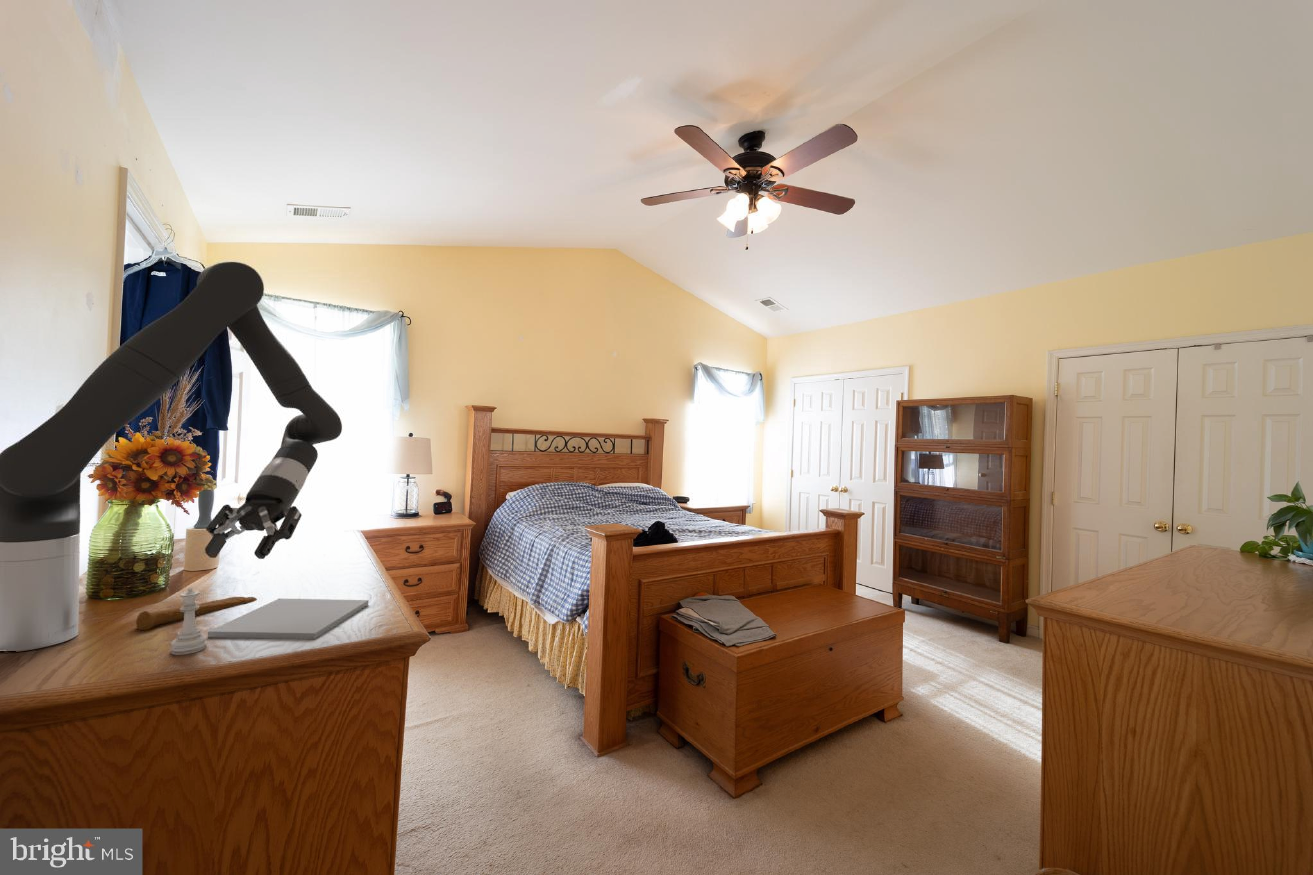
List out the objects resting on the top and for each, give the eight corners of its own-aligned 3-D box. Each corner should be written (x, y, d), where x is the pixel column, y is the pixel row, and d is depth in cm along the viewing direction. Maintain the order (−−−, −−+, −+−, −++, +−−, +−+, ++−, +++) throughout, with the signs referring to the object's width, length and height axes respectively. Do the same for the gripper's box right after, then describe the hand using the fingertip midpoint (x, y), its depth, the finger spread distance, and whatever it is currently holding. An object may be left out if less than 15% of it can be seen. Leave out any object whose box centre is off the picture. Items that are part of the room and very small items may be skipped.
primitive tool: (239, 598, 113) (239, 582, 113) (259, 601, 112) (260, 584, 112) (131, 631, 94) (131, 611, 94) (154, 635, 93) (154, 615, 93)
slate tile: (207, 637, 92) (207, 631, 92) (279, 603, 110) (279, 598, 110) (314, 639, 92) (315, 633, 92) (368, 604, 110) (368, 600, 110)
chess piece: (164, 652, 85) (165, 589, 85) (195, 642, 89) (196, 582, 89) (182, 656, 84) (183, 593, 84) (213, 646, 88) (214, 585, 88)
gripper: (232, 472, 104) (180, 543, 93) (307, 474, 105) (264, 545, 93) (251, 496, 110) (205, 566, 98) (322, 497, 110) (284, 567, 99)
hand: (234, 556), depth 96 cm, fingers open, 8 cm apart
